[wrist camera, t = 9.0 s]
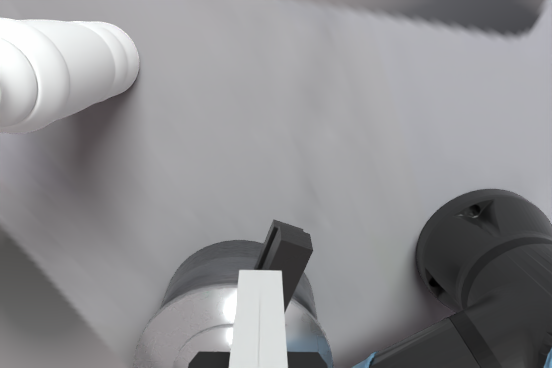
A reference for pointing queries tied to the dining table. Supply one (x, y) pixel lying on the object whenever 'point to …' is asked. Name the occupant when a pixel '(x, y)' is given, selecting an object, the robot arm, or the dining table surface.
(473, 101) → the dining table surface
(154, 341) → the lid
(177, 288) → the pot
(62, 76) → the water bottle
